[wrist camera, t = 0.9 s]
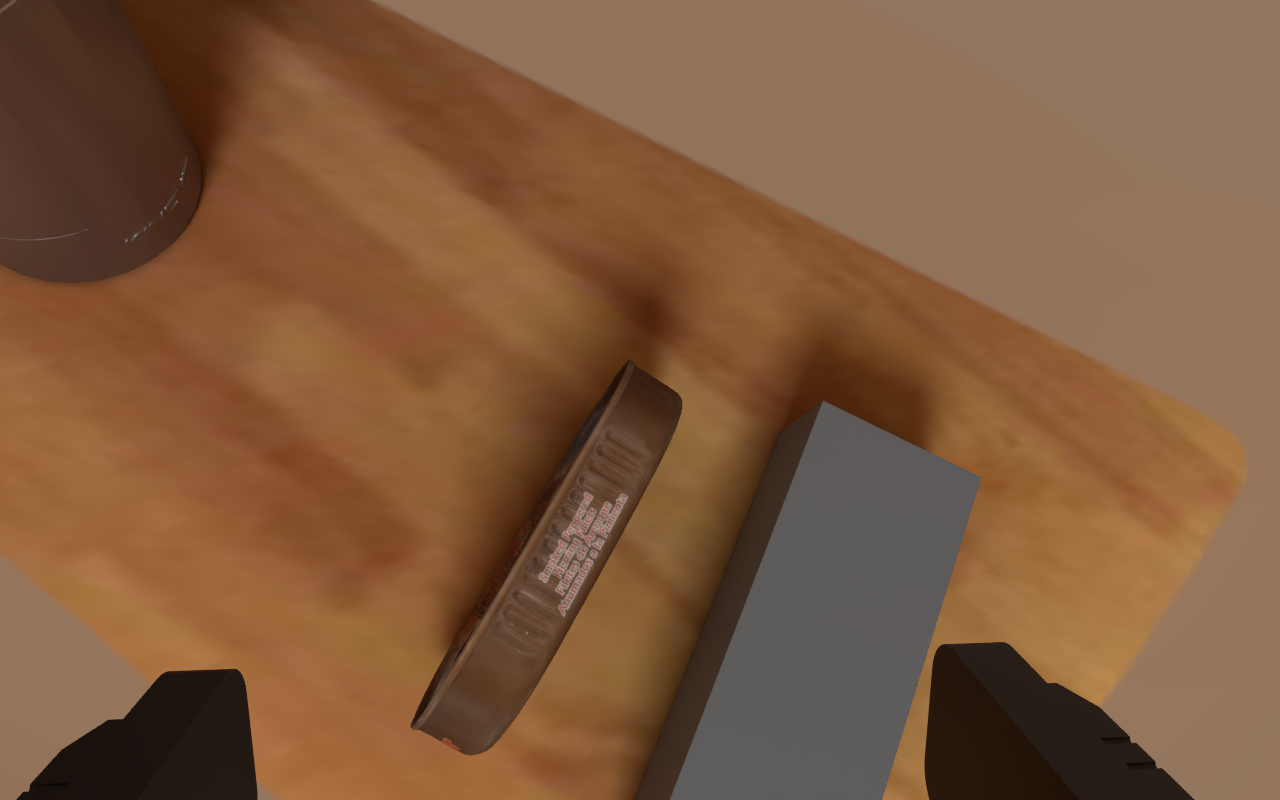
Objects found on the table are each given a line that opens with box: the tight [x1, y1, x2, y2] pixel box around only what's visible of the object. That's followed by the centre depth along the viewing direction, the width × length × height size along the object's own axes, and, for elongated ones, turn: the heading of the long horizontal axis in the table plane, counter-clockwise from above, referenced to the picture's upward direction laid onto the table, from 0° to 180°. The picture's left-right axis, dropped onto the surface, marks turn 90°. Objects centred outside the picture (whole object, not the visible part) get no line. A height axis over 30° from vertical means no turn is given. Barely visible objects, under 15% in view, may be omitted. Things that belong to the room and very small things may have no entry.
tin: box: [411, 360, 682, 755], centre depth 32 cm, size 15×3×8 cm, turn 150°
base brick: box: [635, 401, 981, 800], centre depth 34 cm, size 7×19×5 cm, turn 155°
